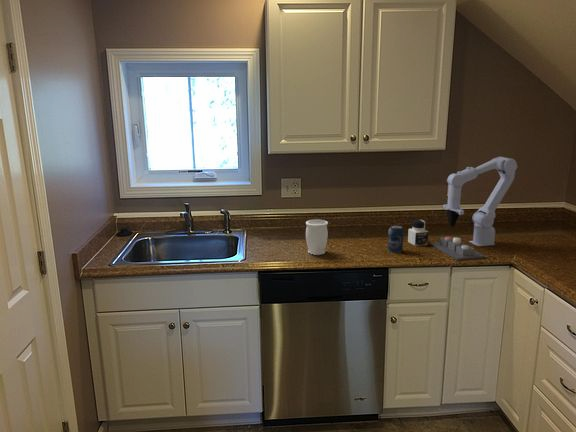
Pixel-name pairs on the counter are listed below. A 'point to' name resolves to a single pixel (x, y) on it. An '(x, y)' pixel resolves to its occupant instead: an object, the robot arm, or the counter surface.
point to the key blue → (465, 247)
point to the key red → (448, 238)
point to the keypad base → (456, 250)
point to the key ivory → (456, 240)
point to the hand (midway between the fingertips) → (452, 225)
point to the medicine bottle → (418, 233)
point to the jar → (316, 236)
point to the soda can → (395, 239)
